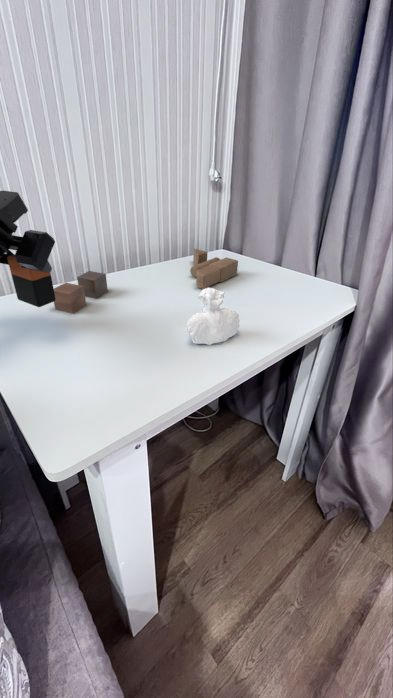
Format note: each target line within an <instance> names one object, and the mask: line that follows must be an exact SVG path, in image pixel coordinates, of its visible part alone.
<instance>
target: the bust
mask: <svg viewBox="0 0 393 698" xmlns="http://www.w3.org/2000/svg"><path fill="white" fill-rule="evenodd" d="M225 293H226V292H225V291H220V290H217V289H216V288H214V287H207V288H205V289H201V291H200V293H199V295H198V296H197V299H198V300H199V305H203V308H202V311H200V312H196V313H194V314H193V315H192V316H191V317H189V318H188V320H187V321H186V324H185V327H186V330H187V332H188V335H189V337H190V339H191V341H192V342H193V343H194V344H199V345H207V346H211V345H213V344H219V343H222V342H226V341H228V339H230V338H232V337H234V336H235V335H236V334H237V333H238V331H239V328H240V321H241V319H240V315H239V313H238V312H237V311H236V310H234V309H230V308H227V307H222V308H220V307H221V305H222V304H224V298H225Z"/></svg>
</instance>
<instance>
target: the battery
mask: <svg viewBox="0 0 393 698" xmlns="http://www.w3.org/2000/svg"><path fill="white" fill-rule="evenodd" d="M13 254H14V255H10V256H8V257H7V260H8V263H9V265H8V267H9V271H10V274H11V279H12V282H13V286H14V290H15V294H16V298H17V300H19V301H20V302H24V303H27V304H29V305H31V306H34V307H37V308H42V307H44V306H46V305H49V304H51V303H54V301H55V300H56V299H55V294H54V288H55V287H54V283H53V279H52V273H51V272H50V273H47V272H42V271H36V270H31V269H26V268H21V266H22V265H20V264H19V263H17V261H16V257H15V253H13Z"/></svg>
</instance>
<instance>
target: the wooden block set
mask: <svg viewBox="0 0 393 698" xmlns="http://www.w3.org/2000/svg"><path fill="white" fill-rule="evenodd" d="M192 259H193V260H192V263H193V266H191V267H190V269H189V272H190V275H191V276H192V277H193V278H195V280H196V281H195V283H196V287H197V288H199V289H201V290H203V289H205V288H206V289H207V288H210V287H211V286H213V285H215V284H217V283H222V282H224V281H227V280H229V279H231V278H234V277H235V276H237V274H238V267H239V260H238V259H234V258H230V257H224V258H219V257H217V256H216V257H213V258H211V259H208V251H205V250H202V249H198V248H193V258H192Z"/></svg>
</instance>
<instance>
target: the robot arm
mask: <svg viewBox="0 0 393 698" xmlns="http://www.w3.org/2000/svg"><path fill="white" fill-rule="evenodd" d="M28 212H29V209H28V207H27V206H26V204H25V201H23V199H22V197H21V195H20V193H19V192H18V191H9V190H0V264H3V265H7V266H9V263H8V260H7V257H8V256H10V255H14V254H15V257H16V261H17V263H19V264H20V265H22V266H21V268H26V269H31V270H36V271H42V272H47V273H51V272H52V269H53V267H52V265H51V263H50V262H49V258H50V255H51V253H52V251H53V248H54V246H55V243H56V241H55V238H53V236H52V235H50V234H49V233H48V232H46V231H40V230H33V229H30V230H25V231H24V234H23V235H22V236H19V235H13V233H16V232H17V229H18V227H19V226H18V225H17V224H16V222H17V221H18V220H19V219H20V218H21V217H22V216H24V215H26V214H27V213H28ZM11 250H12V251H15V253H13V252H12V251H11Z"/></svg>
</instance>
